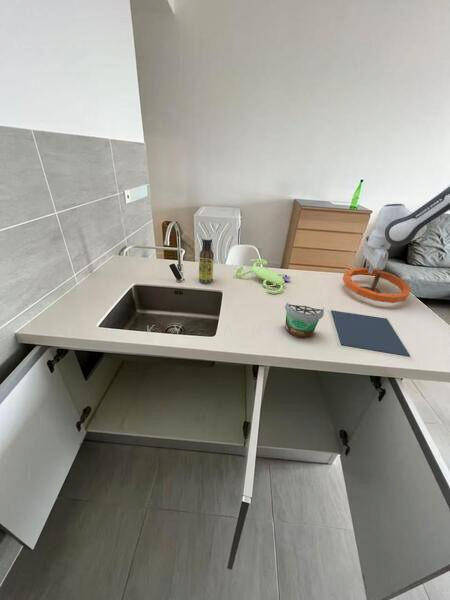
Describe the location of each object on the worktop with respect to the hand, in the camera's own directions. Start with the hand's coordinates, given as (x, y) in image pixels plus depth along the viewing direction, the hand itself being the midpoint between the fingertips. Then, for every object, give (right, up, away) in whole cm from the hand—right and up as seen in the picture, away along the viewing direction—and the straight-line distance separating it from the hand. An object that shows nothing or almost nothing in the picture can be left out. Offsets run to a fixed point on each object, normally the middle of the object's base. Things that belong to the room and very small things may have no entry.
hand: (368, 271), depth 114 cm
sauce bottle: (-76, -5, -4) cm, 77 cm away
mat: (-19, -24, -30) cm, 43 cm away
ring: (-2, -8, -8) cm, 12 cm away
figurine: (-50, -4, +1) cm, 50 cm away
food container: (-43, -25, -33) cm, 60 cm away
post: (-3, -11, -6) cm, 13 cm away
